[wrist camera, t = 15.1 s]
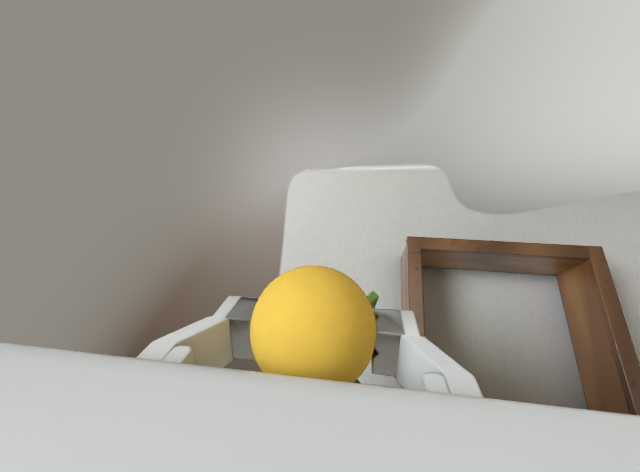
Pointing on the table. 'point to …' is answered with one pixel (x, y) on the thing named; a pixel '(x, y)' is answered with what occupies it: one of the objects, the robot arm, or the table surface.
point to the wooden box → (577, 296)
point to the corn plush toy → (314, 325)
